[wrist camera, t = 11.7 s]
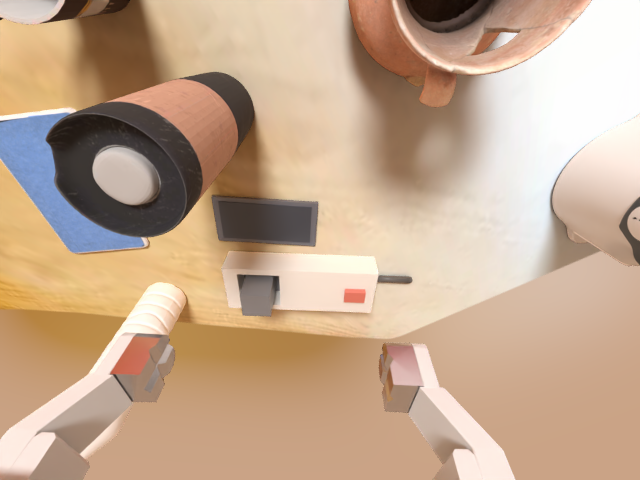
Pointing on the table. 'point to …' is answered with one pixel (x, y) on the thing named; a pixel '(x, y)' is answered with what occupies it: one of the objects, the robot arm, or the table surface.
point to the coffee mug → (55, 9)
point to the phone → (265, 220)
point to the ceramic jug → (456, 37)
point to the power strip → (308, 280)
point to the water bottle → (147, 317)
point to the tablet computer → (52, 182)
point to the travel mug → (149, 152)
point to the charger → (258, 295)
